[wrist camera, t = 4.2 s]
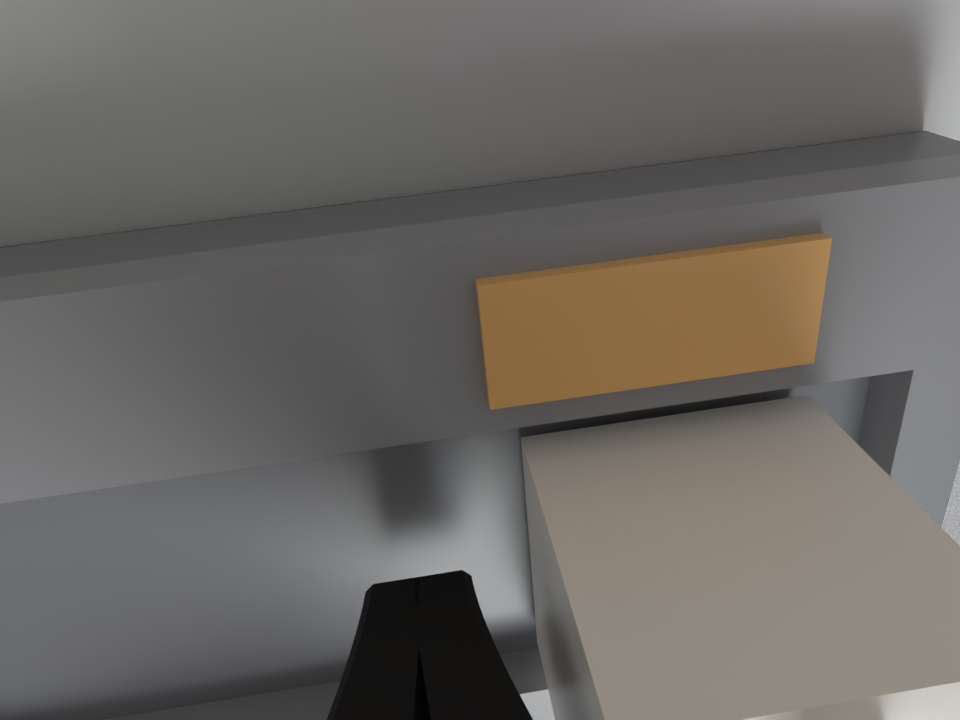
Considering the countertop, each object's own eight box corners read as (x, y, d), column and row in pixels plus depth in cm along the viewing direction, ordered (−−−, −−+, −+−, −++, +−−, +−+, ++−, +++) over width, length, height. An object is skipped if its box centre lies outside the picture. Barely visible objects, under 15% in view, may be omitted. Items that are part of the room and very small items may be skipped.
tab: (808, 395, 10) (1163, 750, 6) (778, 602, 12) (1022, 993, 7) (520, 437, 10) (641, 845, 5) (536, 642, 12) (635, 1070, 7)
